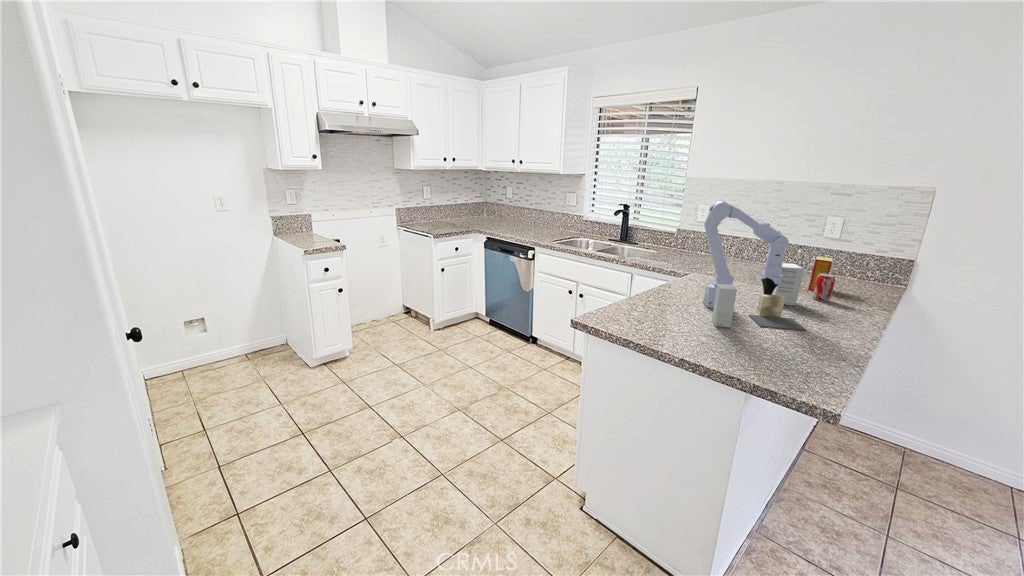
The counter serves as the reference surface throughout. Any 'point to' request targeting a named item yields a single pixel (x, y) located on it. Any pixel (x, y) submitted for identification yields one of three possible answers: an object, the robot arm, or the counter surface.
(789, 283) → the supplement box
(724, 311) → the skincare box
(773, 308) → the maple slab
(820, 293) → the soda can
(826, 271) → the baking soda box
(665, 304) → the counter surface
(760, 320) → the mat
